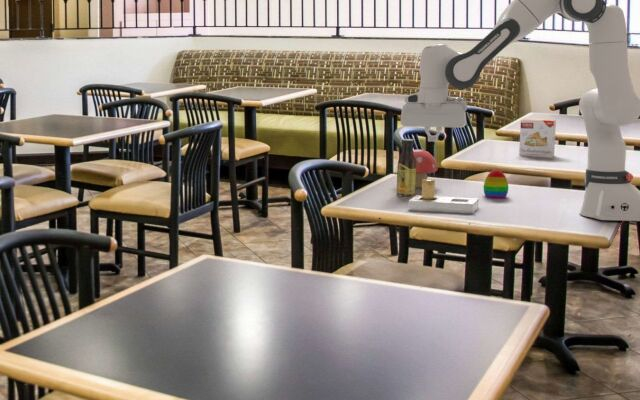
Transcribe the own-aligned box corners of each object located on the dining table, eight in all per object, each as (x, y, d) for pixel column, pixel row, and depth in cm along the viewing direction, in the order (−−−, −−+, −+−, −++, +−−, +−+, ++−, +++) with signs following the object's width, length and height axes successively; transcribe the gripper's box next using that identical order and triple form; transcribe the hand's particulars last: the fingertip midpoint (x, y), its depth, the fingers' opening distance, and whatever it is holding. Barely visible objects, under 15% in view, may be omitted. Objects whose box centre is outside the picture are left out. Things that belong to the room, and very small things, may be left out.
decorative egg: (502, 201, 307) (503, 171, 306) (479, 199, 312) (480, 169, 310) (511, 198, 314) (512, 169, 313) (488, 196, 319) (489, 167, 317)
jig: (478, 207, 295) (478, 198, 295) (472, 213, 284) (473, 204, 283) (416, 204, 301) (416, 195, 300) (408, 210, 290) (408, 200, 289)
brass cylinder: (435, 207, 295) (435, 179, 294) (432, 209, 291) (433, 181, 290) (422, 206, 296) (423, 178, 295) (420, 208, 293) (420, 180, 291)
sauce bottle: (393, 197, 316) (394, 138, 313) (410, 196, 318) (411, 138, 315) (401, 199, 310) (402, 140, 307) (418, 199, 312) (419, 139, 309)
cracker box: (518, 168, 397) (520, 119, 394) (521, 166, 403) (522, 118, 399) (551, 170, 392) (553, 120, 389) (553, 168, 397) (556, 119, 394)
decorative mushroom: (390, 191, 328) (391, 149, 326) (415, 188, 337) (416, 146, 335) (420, 196, 319) (420, 152, 316) (444, 192, 328) (445, 149, 325)
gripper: (468, 96, 288) (467, 141, 291) (403, 96, 295) (403, 139, 297) (465, 97, 283) (464, 143, 285) (399, 97, 289) (399, 141, 291)
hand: (432, 141), depth 291 cm, fingers closed
